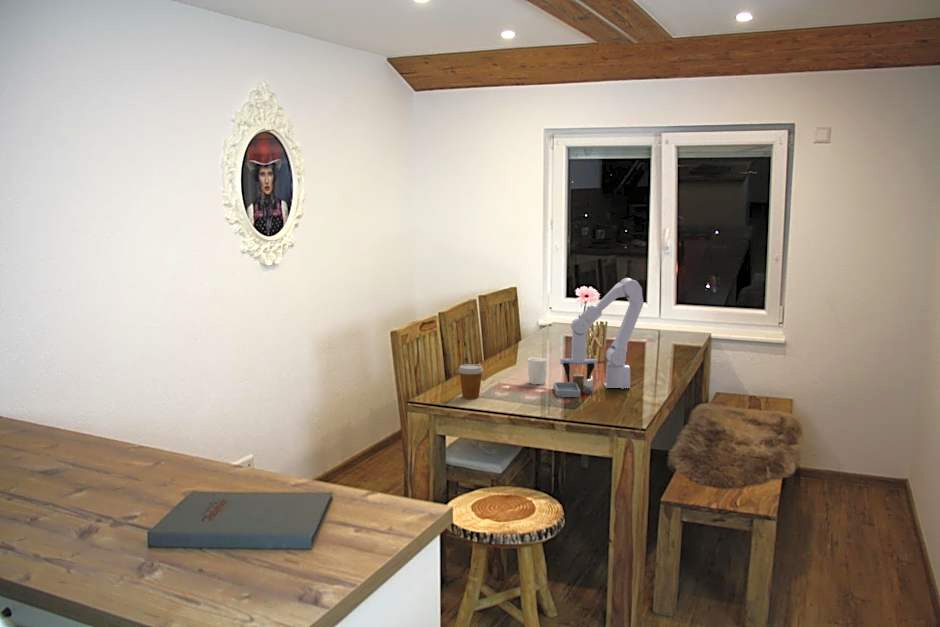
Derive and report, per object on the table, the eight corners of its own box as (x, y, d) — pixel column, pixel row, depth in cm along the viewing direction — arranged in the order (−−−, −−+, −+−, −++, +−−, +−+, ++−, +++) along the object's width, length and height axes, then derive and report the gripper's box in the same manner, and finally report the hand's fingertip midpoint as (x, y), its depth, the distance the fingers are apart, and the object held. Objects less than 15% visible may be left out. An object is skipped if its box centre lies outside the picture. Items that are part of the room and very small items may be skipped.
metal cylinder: (592, 390, 314) (592, 378, 313) (593, 393, 310) (594, 380, 309) (582, 390, 314) (582, 378, 313) (583, 393, 310) (583, 380, 309)
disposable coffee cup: (474, 401, 297) (474, 370, 296) (453, 398, 302) (453, 367, 301) (487, 396, 305) (488, 365, 304) (466, 392, 310) (466, 362, 309)
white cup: (545, 385, 323) (546, 361, 321) (526, 384, 324) (526, 360, 323) (547, 381, 330) (548, 357, 329) (528, 380, 332) (529, 356, 330)
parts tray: (576, 388, 318) (576, 382, 318) (580, 397, 304) (580, 390, 304) (553, 388, 318) (553, 382, 318) (556, 396, 304) (556, 390, 304)
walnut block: (582, 386, 322) (582, 374, 321) (583, 388, 318) (583, 376, 317) (572, 386, 322) (572, 374, 321) (573, 388, 318) (573, 376, 317)
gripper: (561, 350, 314) (560, 383, 316) (598, 350, 314) (597, 384, 316) (559, 346, 321) (559, 379, 323) (595, 347, 321) (594, 380, 323)
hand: (577, 381), depth 320 cm, fingers open, 7 cm apart
